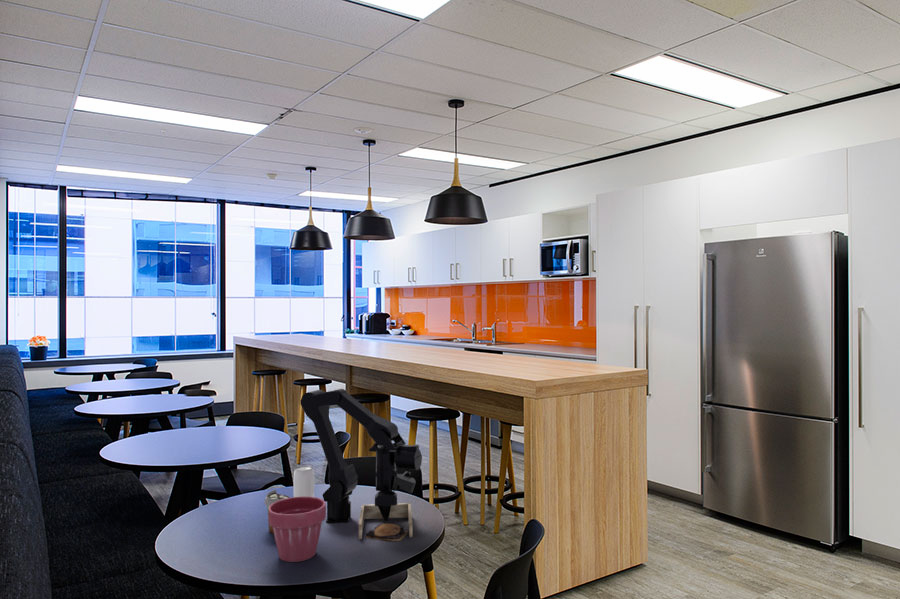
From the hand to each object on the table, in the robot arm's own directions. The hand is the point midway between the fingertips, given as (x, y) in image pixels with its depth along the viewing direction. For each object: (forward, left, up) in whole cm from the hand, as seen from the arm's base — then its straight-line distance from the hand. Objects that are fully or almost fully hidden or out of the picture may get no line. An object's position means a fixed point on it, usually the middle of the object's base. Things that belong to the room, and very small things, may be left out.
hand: (386, 520), depth 177 cm
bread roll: (0, -8, -2) cm, 8 cm away
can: (-26, +20, -1) cm, 33 cm away
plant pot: (-22, -20, -1) cm, 30 cm away
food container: (-31, -2, -1) cm, 31 cm away
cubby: (0, -2, -1) cm, 3 cm away
